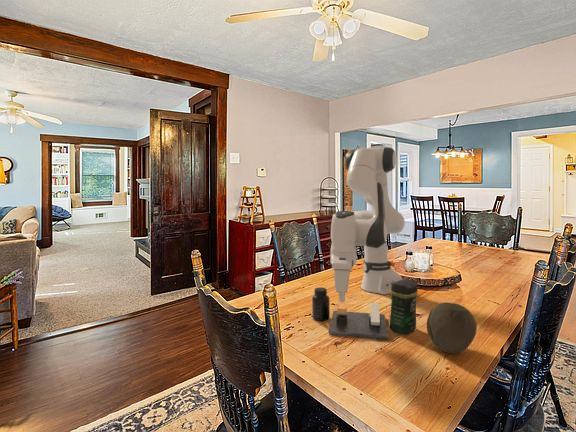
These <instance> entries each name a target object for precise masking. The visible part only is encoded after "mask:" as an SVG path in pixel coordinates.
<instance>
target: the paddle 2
mask: <svg viewBox="0 0 576 432" xmlns="http://www.w3.org/2000/svg"><path fill="white" fill-rule="evenodd" d="M370 313H371V314H369V317H371V325H378V326H380V318H381V315H379V314H380V303H379V302H370Z"/></svg>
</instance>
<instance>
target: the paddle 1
mask: <svg viewBox="0 0 576 432" xmlns="http://www.w3.org/2000/svg"><path fill="white" fill-rule="evenodd" d="M347 310H348V309H347V307H340V306H339V307H337V309H336V311H337V312H336V315H348V313H346V312H348V311H347Z"/></svg>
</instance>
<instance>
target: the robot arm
mask: <svg viewBox="0 0 576 432" xmlns="http://www.w3.org/2000/svg"><path fill="white" fill-rule="evenodd" d="M397 158H398V157H397V154H396V151H395V150H394V148H392V147H388V146H385V147H378V146H377V147H374V146H373V147H368V148H367V147H361V148H358V149H356V148H355V149H351V150H349V151H348V152H347V153H345V157H344V166H345V169H346V171H347V175H346V184H347V187H348V188H349V189H350V191H352V192H353V193H354V194H356V195H358V196H360V197H363V199H364V201H365V202H366V203H367V204H368V205H370V206H372V209H371V210H367V209H365V210H364V209H363V210H356V211H354V212H353V211H350V210H340V211H336V212H334V213H333V214H332V218H331V224H330V240H331V246H330V264H331V268H332V269H333V277H334V288H335V292H336V293H338V297H339V299H338V300H339V301H338V302H340V303H345V302H346V301H345V300H346V293H347V292H348V290H349V289H348V288H349V282H350V275H351V274H350V273H351V271H352V269H353V267H354V266H356V264H357V247H356V246H360V247H364V249H363V250H364V259H363V277H362V280H361V281H362V282H361V285H360V288H361V289H362V290H363V291H364V292H369V293H374V294H380V295H385V296H386V295H389V294H391V285H392V283H394V282H396V281H399V280H402V279H403V277H402V276H401V274H399V273H398V272H397V271H395V270H394V269H393V268H394V267H395V266H396V263H395V262H393V261H390V260H388V257H389V256H388V255H389V247H388V244H387V243H386V242H387V239H388V235H391V234H399V233H401V232H402V231H403V229H404V228H405V226H406V225H405V223H406V222H405V218H404V215H403V214H402V213H400V212H399V211H398V210H397V209H396V208H394V206H393V205H392V203H391V201H390V196H389V189H388V175H387V174H389V172H392V171H393V170H395V168H396V165H397V162H398V161H397Z"/></svg>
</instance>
